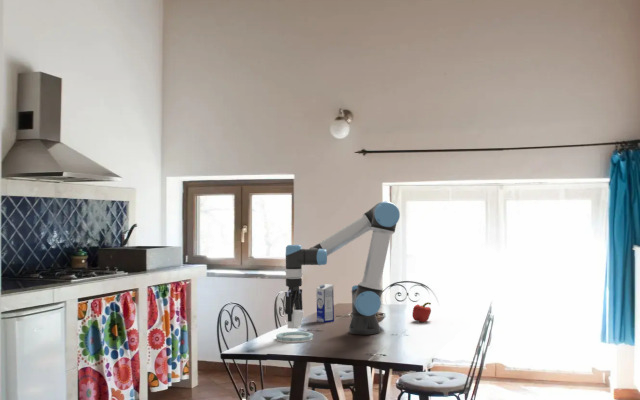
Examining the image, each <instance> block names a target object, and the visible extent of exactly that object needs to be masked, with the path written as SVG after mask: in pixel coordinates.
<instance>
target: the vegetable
mask: <svg viewBox="0 0 640 400" xmlns="http://www.w3.org/2000/svg"><path fill="white" fill-rule="evenodd" d="M431 304H432V303H431V302H425V303H424V304H423V305H420V304H415V306H413V308H412V315H411V316H412V319H413V320H414V321H415V322H417V321H418V322H420V323H425V322H427V321H428V320H429V318H430V315H431V313H432V310H431V307H429V306H430V305H431ZM427 305H429V306H427Z"/></svg>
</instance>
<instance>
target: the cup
mask: <svg viewBox="0 0 640 400" xmlns="http://www.w3.org/2000/svg"><path fill="white" fill-rule="evenodd" d="M304 312H305V310H303V309H302V310H295V309H293V314H294V328H293V329H295V330H296V329H299V330H300V329H302V327H301V326H302V324H303V318H304ZM283 317H284V318H283V320H284V323H285V324H286V325H287V326H288V321H286V317H287V314H285V313H284V316H283ZM293 329H292V330H293Z"/></svg>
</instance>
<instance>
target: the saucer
mask: <svg viewBox="0 0 640 400" xmlns="http://www.w3.org/2000/svg"><path fill="white" fill-rule="evenodd" d="M275 336H276V338H275V339H276V341H277V342H280V343H287V344H288V343H289V344H290V343H292V344H294V343H295V344H297V343H305V342H310V341H313V340H314V334H313V333H312V332H310V331H309V332H308V331H299V330H298V331H285V332H279V333H277V334H276V335H275Z"/></svg>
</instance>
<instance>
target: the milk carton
mask: <svg viewBox="0 0 640 400" xmlns="http://www.w3.org/2000/svg"><path fill="white" fill-rule="evenodd" d="M315 289H316V295H315V296H316V322H320V323H323V324H325V323H326V324H327V323H333V322H335V309H334V308H335V307H334V306H335V305H334V304H335V303H334V302H335V301H334V295H335V294H334V285H333V284H330V283H325V284H321V285H319V286H318V287H316V288H315Z"/></svg>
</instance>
